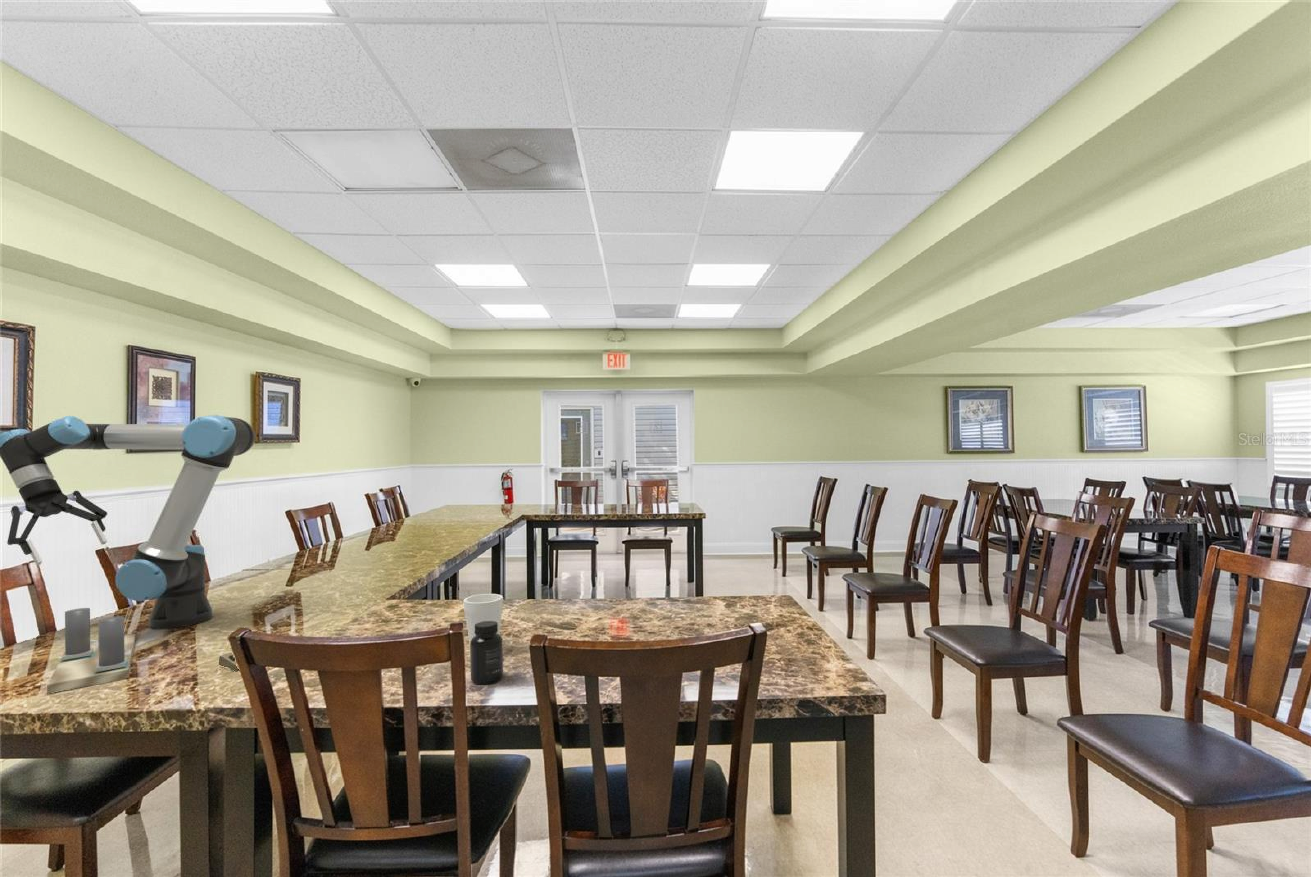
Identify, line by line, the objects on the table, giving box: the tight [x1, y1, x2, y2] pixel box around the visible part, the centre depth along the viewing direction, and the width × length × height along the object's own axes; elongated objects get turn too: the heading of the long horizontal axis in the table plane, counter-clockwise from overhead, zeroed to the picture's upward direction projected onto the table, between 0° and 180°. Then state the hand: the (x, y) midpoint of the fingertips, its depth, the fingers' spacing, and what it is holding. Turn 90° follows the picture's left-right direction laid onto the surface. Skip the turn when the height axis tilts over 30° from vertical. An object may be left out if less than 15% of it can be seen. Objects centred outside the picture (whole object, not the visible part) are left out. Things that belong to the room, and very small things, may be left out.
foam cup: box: [462, 593, 504, 644], centre depth 149 cm, size 10×9×13 cm
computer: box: [218, 652, 239, 672], centre depth 148 cm, size 16×8×3 cm, turn 149°
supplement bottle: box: [469, 621, 504, 686], centre depth 131 cm, size 7×7×12 cm
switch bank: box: [46, 633, 137, 695], centre depth 146 cm, size 13×36×2 cm, turn 39°
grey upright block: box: [61, 607, 93, 660], centre depth 146 cm, size 5×5×11 cm
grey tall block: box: [96, 615, 127, 672], centre depth 137 cm, size 5×5×11 cm
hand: (73, 553), depth 163 cm, fingers open, 13 cm apart
